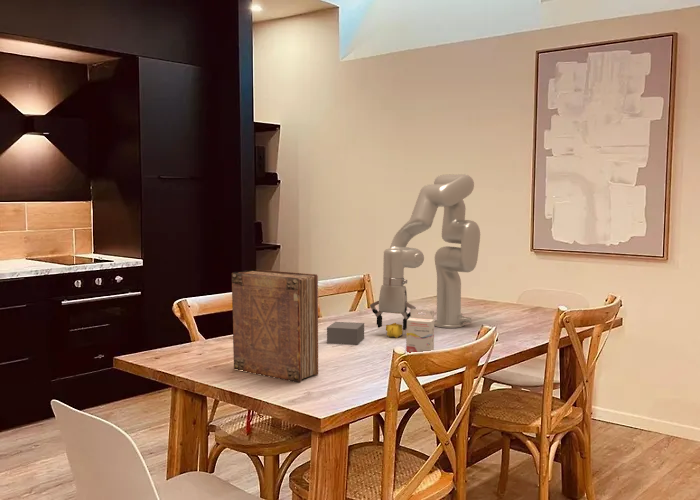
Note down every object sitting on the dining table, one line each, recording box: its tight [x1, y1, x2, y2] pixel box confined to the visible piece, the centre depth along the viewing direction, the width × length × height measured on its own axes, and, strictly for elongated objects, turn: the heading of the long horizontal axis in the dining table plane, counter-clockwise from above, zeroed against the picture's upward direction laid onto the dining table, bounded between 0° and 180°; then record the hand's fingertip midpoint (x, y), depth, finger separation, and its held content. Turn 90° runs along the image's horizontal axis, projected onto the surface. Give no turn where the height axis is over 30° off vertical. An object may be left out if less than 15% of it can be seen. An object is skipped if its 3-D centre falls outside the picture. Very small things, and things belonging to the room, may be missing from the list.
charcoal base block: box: [326, 321, 365, 346], centre depth 248 cm, size 11×11×6 cm
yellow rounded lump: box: [385, 322, 403, 339], centre depth 255 cm, size 8×6×5 cm
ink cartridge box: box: [405, 308, 435, 353], centre depth 228 cm, size 9×5×15 cm, turn 71°
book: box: [231, 268, 319, 383], centre depth 204 cm, size 25×9×30 cm, turn 57°
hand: (392, 328), depth 255 cm, fingers open, 9 cm apart
